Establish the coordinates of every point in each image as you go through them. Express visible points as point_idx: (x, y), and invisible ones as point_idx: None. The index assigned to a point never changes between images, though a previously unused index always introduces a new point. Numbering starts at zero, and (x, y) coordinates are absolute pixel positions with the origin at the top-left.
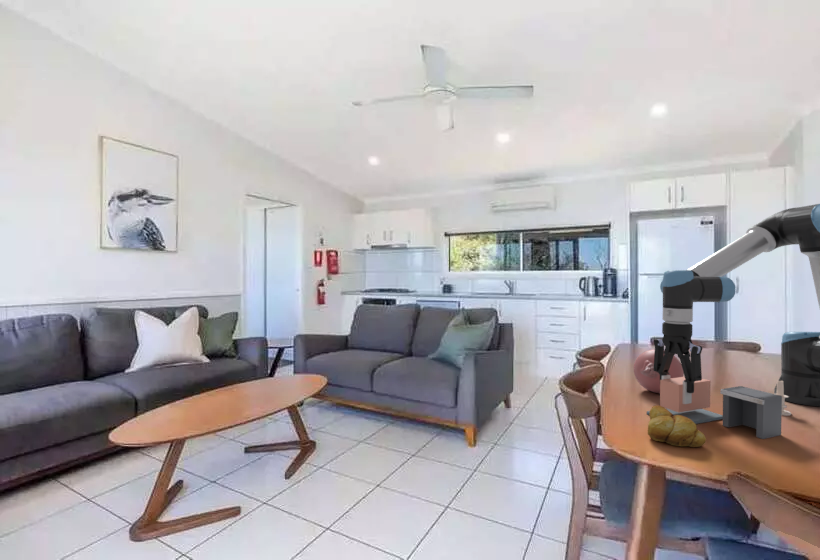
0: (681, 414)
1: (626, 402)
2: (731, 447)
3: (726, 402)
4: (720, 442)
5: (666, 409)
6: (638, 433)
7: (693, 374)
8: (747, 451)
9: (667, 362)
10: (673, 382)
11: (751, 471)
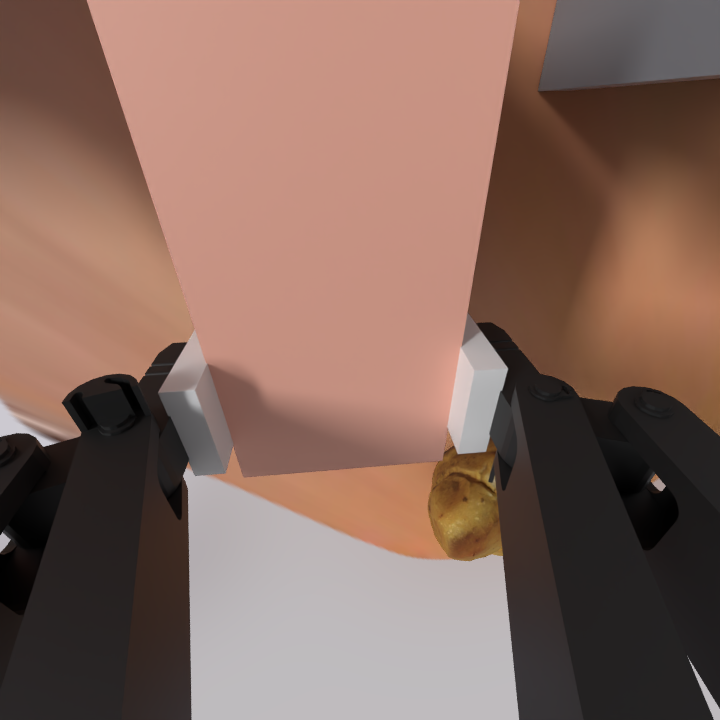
0: None
1: (17, 306)
2: (644, 338)
3: (702, 78)
4: (602, 334)
5: (496, 535)
6: (405, 491)
7: (645, 538)
8: (696, 319)
9: (177, 675)
10: (361, 446)
11: (712, 426)
